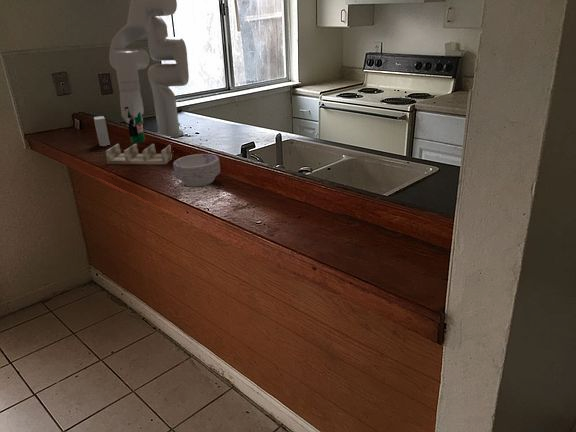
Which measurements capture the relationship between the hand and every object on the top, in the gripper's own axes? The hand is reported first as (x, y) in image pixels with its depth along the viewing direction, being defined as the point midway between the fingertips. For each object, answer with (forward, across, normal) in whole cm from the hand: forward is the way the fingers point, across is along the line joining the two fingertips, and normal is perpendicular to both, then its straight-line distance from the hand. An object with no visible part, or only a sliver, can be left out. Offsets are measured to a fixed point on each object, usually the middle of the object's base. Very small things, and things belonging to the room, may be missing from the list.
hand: (137, 134), depth 190 cm
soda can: (+3, 0, 0) cm, 3 cm away
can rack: (+10, 0, 0) cm, 10 cm away
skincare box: (+10, -23, -27) cm, 37 cm away
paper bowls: (+11, +24, +31) cm, 41 cm away
